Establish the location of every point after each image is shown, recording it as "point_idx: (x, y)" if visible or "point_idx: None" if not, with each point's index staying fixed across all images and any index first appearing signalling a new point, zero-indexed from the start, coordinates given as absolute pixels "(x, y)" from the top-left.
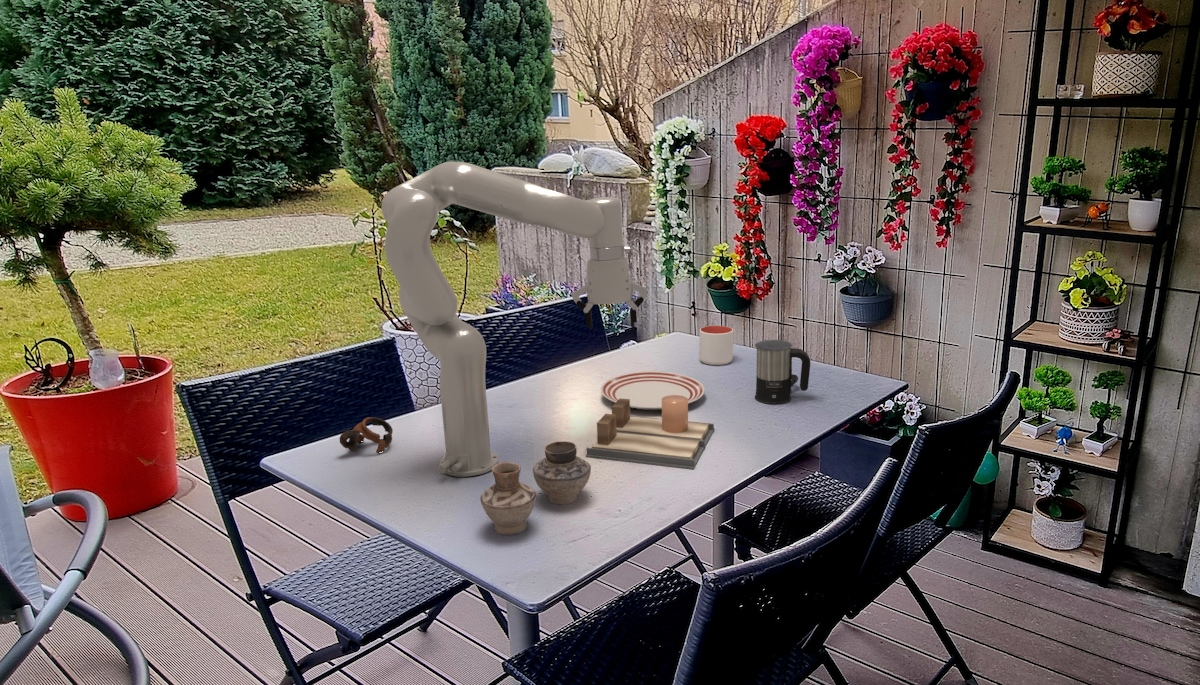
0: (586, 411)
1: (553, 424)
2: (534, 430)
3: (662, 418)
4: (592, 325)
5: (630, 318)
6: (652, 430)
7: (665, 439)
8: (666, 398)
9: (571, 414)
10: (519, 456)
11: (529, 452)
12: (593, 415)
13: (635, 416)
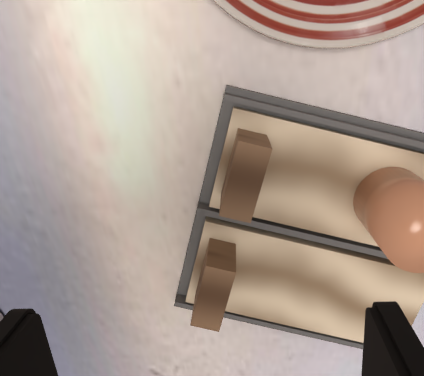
0: (124, 6)
1: (55, 117)
2: (19, 159)
3: (363, 223)
4: (37, 315)
5: (381, 340)
6: (326, 214)
7: (355, 268)
8: (400, 226)
9: (84, 35)
10: (38, 295)
11: (52, 278)
12: (151, 42)
13: (282, 109)
